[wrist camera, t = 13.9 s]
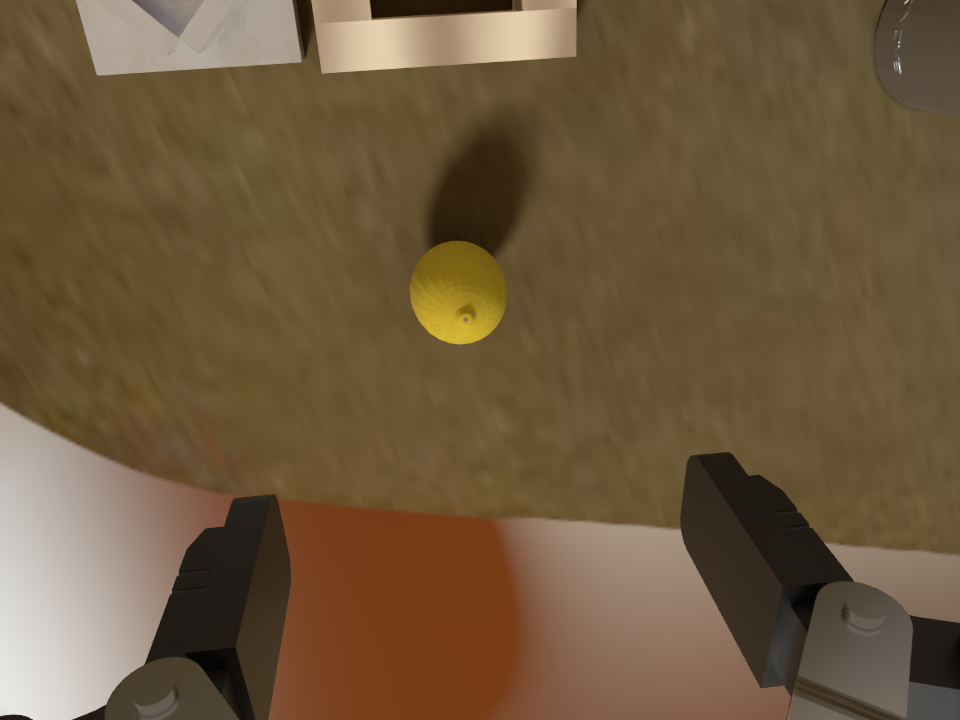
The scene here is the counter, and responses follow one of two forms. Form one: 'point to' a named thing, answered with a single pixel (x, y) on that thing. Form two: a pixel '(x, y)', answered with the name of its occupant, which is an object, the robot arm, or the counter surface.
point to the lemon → (458, 292)
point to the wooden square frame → (441, 35)
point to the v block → (190, 34)
